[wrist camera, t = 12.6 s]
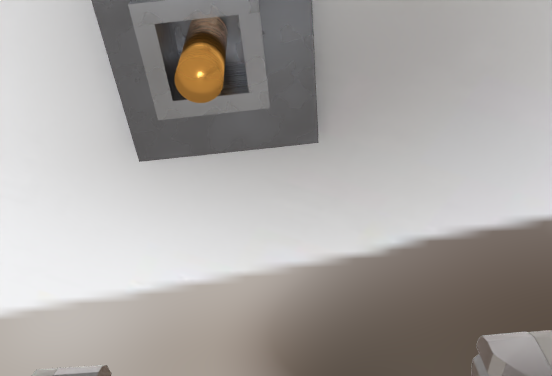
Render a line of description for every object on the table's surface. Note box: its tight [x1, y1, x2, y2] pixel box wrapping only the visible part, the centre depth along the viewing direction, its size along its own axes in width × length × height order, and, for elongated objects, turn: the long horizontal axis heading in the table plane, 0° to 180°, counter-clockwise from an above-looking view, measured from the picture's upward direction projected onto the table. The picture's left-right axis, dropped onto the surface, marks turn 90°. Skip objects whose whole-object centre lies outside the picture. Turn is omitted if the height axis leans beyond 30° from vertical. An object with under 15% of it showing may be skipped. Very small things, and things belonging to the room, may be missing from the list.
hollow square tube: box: [128, 0, 270, 120], centre depth 26 cm, size 6×6×4 cm
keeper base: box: [92, 0, 318, 162], centre depth 26 cm, size 12×16×8 cm
